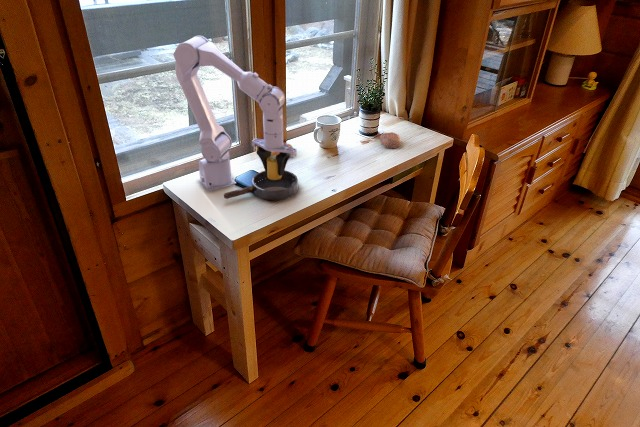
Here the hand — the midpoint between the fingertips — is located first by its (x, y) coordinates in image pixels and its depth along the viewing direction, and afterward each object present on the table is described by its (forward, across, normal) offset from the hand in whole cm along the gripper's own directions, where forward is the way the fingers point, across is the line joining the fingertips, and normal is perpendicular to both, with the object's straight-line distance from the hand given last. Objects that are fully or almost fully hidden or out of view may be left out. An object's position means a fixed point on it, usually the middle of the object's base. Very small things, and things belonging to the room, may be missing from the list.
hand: (274, 172), depth 145 cm
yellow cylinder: (+2, 0, 0) cm, 2 cm away
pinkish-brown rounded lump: (+6, -19, -50) cm, 54 cm away
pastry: (+6, +11, -21) cm, 25 cm away
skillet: (+6, 0, 0) cm, 6 cm away
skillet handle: (+5, +6, +10) cm, 12 cm away
